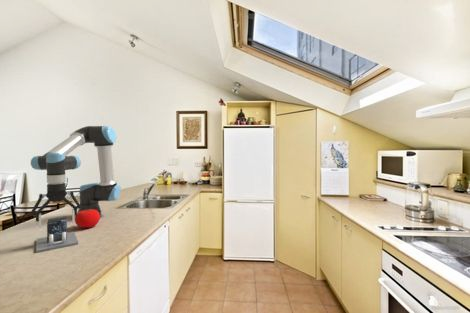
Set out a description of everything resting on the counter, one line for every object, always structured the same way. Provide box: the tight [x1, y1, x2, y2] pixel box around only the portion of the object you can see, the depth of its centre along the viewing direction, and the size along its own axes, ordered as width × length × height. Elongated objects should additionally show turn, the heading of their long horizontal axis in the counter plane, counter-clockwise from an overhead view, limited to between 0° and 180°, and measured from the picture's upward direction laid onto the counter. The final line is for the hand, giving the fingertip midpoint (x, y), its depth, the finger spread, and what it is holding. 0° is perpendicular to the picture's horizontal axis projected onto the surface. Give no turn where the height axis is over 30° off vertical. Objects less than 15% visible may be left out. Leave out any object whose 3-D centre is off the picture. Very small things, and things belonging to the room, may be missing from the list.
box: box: [46, 216, 68, 243], centre depth 119 cm, size 8×6×11 cm
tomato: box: [74, 209, 101, 229], centre depth 144 cm, size 12×13×11 cm
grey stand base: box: [35, 231, 79, 254], centre depth 119 cm, size 16×20×6 cm
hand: (57, 224), depth 120 cm, fingers open, 13 cm apart
